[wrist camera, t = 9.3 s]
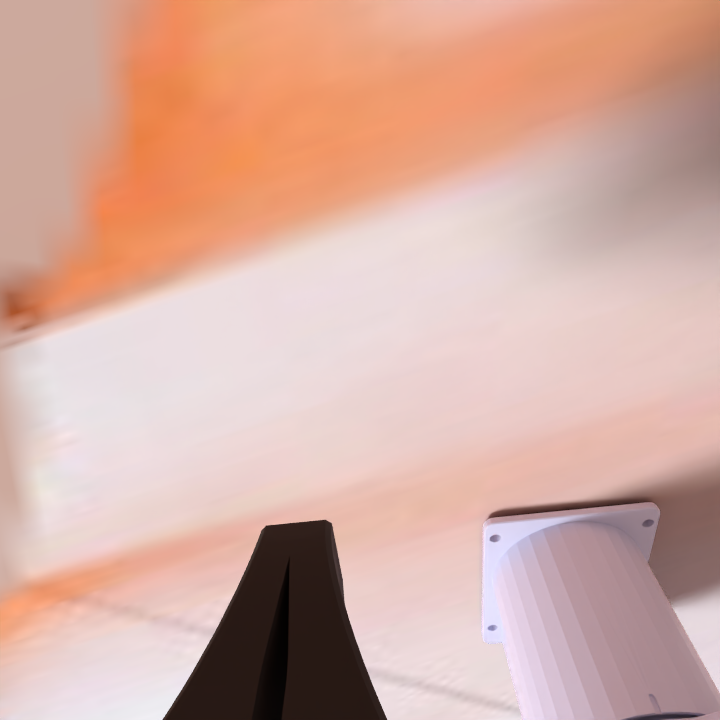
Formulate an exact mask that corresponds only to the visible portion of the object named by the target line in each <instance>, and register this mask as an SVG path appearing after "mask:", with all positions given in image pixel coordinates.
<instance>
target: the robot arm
mask: <svg viewBox="0 0 720 720" xmlns="http://www.w3.org/2000/svg"><path fill="white" fill-rule="evenodd" d="M659 518H660V510H659V508H658V507H657V505H656V504H655V503H652V502H645V503H635V504H625V505H615V506H605V507H595V508H585V509H575V510H565V511H554V512H544V513H534V514H524V515H514V516H504V517H494V518H490V519H488V520H486V521H485V522H484V524H483V560H482V638H483V641H484V642H486V643H488V644H495V643H503V646H504V650H505V654H506V658H507V662H508V665H509V669H510V673H511V677H512V681H513V685H514V689H515V693H516V697H517V700H518V704H519V708H520V712H521V716H522V720H720V693H719V691H718V689H717V687H716V686H715V684H714V682H713V680H712V678H711V677H710V675H709V673H708V671H707V669H706V668H705V666H704V664H703V662H702V660H701V659H700V657H699V655H698V653H697V651H696V650H695V648H694V646H693V644H692V642H691V641H690V639H689V637H688V635H687V633H686V632H685V630H684V628H683V626H682V624H681V622H680V621H679V619H678V617H677V615H676V613H675V612H674V610H673V608H672V606H671V604H670V603H669V601H668V599H667V597H666V595H665V594H664V592H663V590H662V588H661V586H660V585H659V583H658V581H657V579H656V577H655V576H654V574H653V572H652V570H651V568H650V567H649V565H648V562H649V558H650V554H651V550H652V546H653V542H654V538H655V534H656V530H657V526H658V522H659ZM495 534H496V535H495ZM163 720H387V718H386V716H385V714H384V711H383V709H382V706H381V704H380V702H379V699H378V697H377V695H376V692H375V690H374V687H373V685H372V682H371V680H370V677H369V675H368V672H367V669H366V667H365V664H364V662H363V659H362V656H361V653H360V651H359V648H358V645H357V642H356V639H355V636H354V633H353V630H352V627H351V624H350V621H349V618H348V614H347V611H346V608H345V603H344V591H343V579H342V574H341V569H340V564H339V558H338V553H337V548H336V543H335V538H334V532H333V527H332V523H330V522H328V521H327V520H319V521H309V522H299V523H289V524H279V525H269V526H266V527H265V528H264V529H263V530H262V531H261V534H260V536H259V539H258V542H257V544H256V547H255V549H254V552H253V554H252V556H251V559H250V561H249V563H248V566H247V568H246V570H245V572H244V574H243V577H242V579H241V581H240V583H239V585H238V587H237V590H236V592H235V594H234V596H233V598H232V600H231V602H230V604H229V606H228V608H227V610H226V612H225V614H224V616H223V618H222V620H221V622H220V624H219V625H218V627H217V629H216V631H215V633H214V635H213V637H212V638H211V640H210V642H209V644H208V645H207V647H206V649H205V651H204V653H203V654H202V656H201V658H200V660H199V661H198V663H197V665H196V667H195V669H194V670H193V672H192V674H191V675H190V677H189V679H188V680H187V682H186V684H185V685H184V687H183V689H182V690H181V692H180V693H179V695H178V697H177V698H176V700H175V701H174V703H173V705H172V706H171V708H170V709H169V711H168V712H167V714H166V715H165V717H164V718H163Z"/></svg>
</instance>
